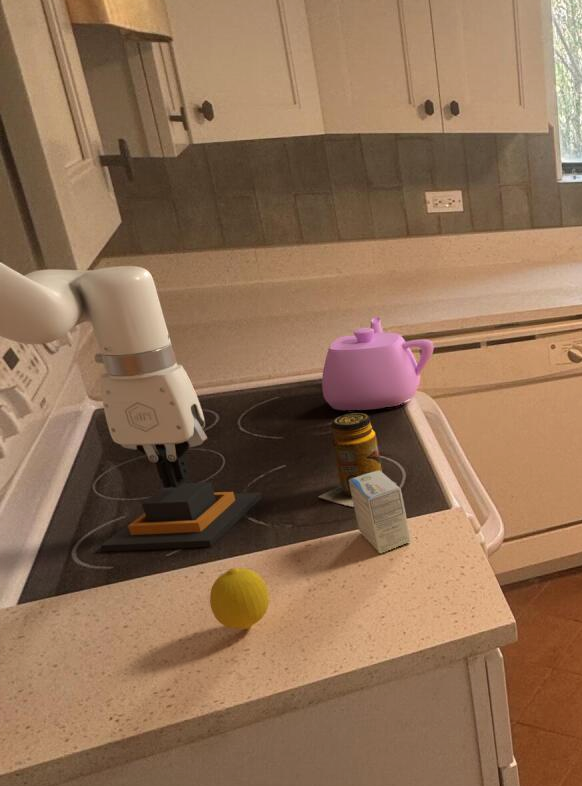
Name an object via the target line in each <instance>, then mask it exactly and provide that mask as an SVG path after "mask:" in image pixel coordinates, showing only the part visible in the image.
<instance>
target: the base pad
mask: <svg viewBox="0 0 582 786" xmlns="http://www.w3.org/2000/svg"><path fill="white" fill-rule="evenodd" d="M214 495H215V498H216V503H215V504H213V505H212V506H211V507H210V508H209V509H208V510H207V511H205V512H204V513H203V514H202V515H201V516H200V517H199V518H197V519H196V520H191V521H168V522H148V521H147V518H146V515H145V512H144V511H143V512H141V513H140V514H139V515H137V516H136V517H135V518H134V519H132V520H131V521H130V522H129V523H127V524H126V525H125V526H123V527H122V528H121V529H120V530H118V531H117V532H116V533H114V534H113V535H112V536H111V537H109V538H108V539H107V540H105V541H104V542H103V543H101V544H100V549H101V551H102V552H123V551H125V552H127V551H144V550H145V551H146V550H147V551H148V550H166V549H169V550H170V549H189V548H211V547H213V546H214V545H215V543H217V542H218V541H219V540H220V539H221V538H222V536H224V535H225V534H226V533H227V532H228V531H229V530H230V529H231V528H232V527H233V526H234V525H235V524H236V523H238V522H239V520H241V519H242V518H243V517H244V516H245V515H246V514H247V513H248V512H249V511H250V510H251V509H252V508H253V507H255V505H256V504H257V503H258V502H259V501H261V499H262V494H261V492H240V493H237V492H236V493H234V491H219V492H217V491H216V492H215V491H214Z"/></svg>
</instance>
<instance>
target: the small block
mask: <svg viewBox="0 0 582 786" xmlns="http://www.w3.org/2000/svg"><path fill="white" fill-rule="evenodd" d="M213 487H214V486H213V485H212V481H209V482H208V481H207V482H184V483H183V484H181V485H180V486H179V487H174V488H173V487H170V488H164V486H163V487H162V488H160V489H159V490H158V491H156V492H155V493H154V494H152V495H151V496H150V497H148V498H147V499H146V500H144V501H143V502H142V503H141V505H142V508H143V512H145V515H146V518H147V521H148V522H168V521H191V520H196V519H197V518H199V517H200V516H201V515H202V514H203V513H204V512H205V511H207V510H208V509H209V508H210V507H211V506H212V505H213V504H215V503H216V498H215V495H214V493H215V491H214V488H213Z"/></svg>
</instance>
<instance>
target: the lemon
mask: <svg viewBox="0 0 582 786" xmlns="http://www.w3.org/2000/svg"><path fill="white" fill-rule="evenodd" d="M209 597H210V598H209V603H210V604H209V605H210V608H211V612H212V614H213V616H214V618H215V619H216V621H217V622H218V623H219V624H221V625H222V626H224V627H226V628H228V629H232V630H241V629H242V630H249V629H251V628H252V626H253V625H255V624H257V623H258V622H260V620H262V619H263V617H264V616H265V614H266V613H267V611H268V608H269V605H270V594H269V590H268V587H267V584H266V583H265V581H264V579H263V578H262V576H261V575H260V574H259V573H257V572H256V571H254V570H252V569H249V568H245V567H243V568H242V567H239V568H237V567H236V568H235V567H232V568H231V567H230V568H229V569H228V570H227V571H225V572H223V573H221V574H220V575H219V576H218V577H217V578H216V579H215V581H214V583H213V584H212V586H211V589H210V595H209Z"/></svg>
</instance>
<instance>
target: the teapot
mask: <svg viewBox="0 0 582 786" xmlns="http://www.w3.org/2000/svg"><path fill="white" fill-rule="evenodd" d="M382 329H383V328H382V321H381V318H380V317H378V316H376V317H373V318H372V319H371V321H370V327H361V328H357V329H354V331H353V332H352V333H353V334H351V335H343V336H340V337H338V338H336V339H335V340H334V341H333V342H332V343H331V344H330V346H329V347H328V350H327V352H326V353H327V354H326V357H325V360H324V365H323V370H322V376H321V377H322V379H321V386H322V387H321V388H322V395H323V398H324V400H325V401H326V403H327V404H328V405H329V406H330V407H331V408H332V409H333V410H336V411H346V410H358V411H368V410H378V409H384V408H385V407H391V406H397V405H399V406H401V405H403V404H402V403H403V402H404V401H406V400H408V399H410V398H412V397H413V396H414V397H415V396H416V393H417V391H418V388H419V386H420V383H421V382H420V381H421V373H422V371H424V369H425V368H426V366H427V365H428V363H429V362H430V360H431V358H432V357H433V353H434V347H435V346H434V343H433V341H431V340H429V339H426V338H424V339H423V338H422V339H421V338H420V339H414V340H409V341H406V340H405V339H404V338H403V337H402V335H401V334H400V333H397V332H383V330H382ZM411 348H419V349H420V351H421V354H420V358H419V361H418V363H417V360H416V357H415V356H414V354H413V351H412V350H411ZM414 397H413V398H414ZM413 398H412V399H413ZM400 404H401V405H400ZM397 407H398V406H397ZM385 409H386V408H385Z"/></svg>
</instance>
